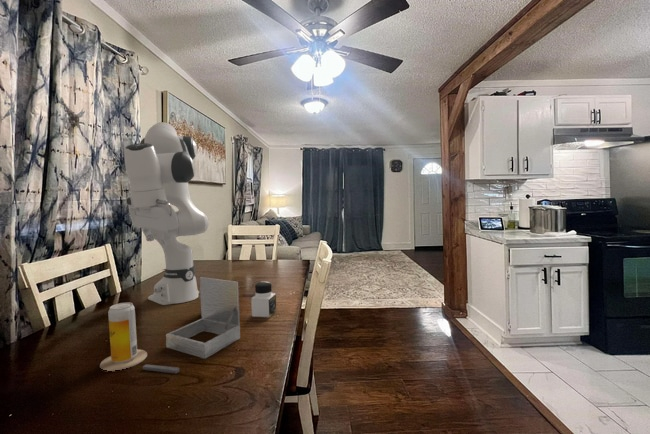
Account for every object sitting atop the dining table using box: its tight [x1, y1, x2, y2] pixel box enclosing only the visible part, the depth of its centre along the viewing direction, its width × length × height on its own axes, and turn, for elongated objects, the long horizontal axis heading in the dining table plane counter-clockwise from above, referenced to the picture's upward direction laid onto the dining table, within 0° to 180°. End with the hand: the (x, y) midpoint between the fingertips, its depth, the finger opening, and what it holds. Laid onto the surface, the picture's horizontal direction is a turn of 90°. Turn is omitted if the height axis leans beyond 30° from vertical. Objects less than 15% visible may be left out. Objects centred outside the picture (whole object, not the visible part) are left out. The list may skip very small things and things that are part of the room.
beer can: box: [107, 302, 138, 364], centre depth 86 cm, size 6×6×15 cm
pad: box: [99, 348, 148, 372], centre depth 86 cm, size 11×11×1 cm
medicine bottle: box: [250, 281, 277, 318], centre depth 119 cm, size 7×7×12 cm
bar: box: [142, 364, 180, 374], centre depth 81 cm, size 10×1×1 cm, turn 78°
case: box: [165, 276, 241, 359], centre depth 96 cm, size 16×14×18 cm
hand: (158, 242), depth 97 cm, fingers open, 8 cm apart
